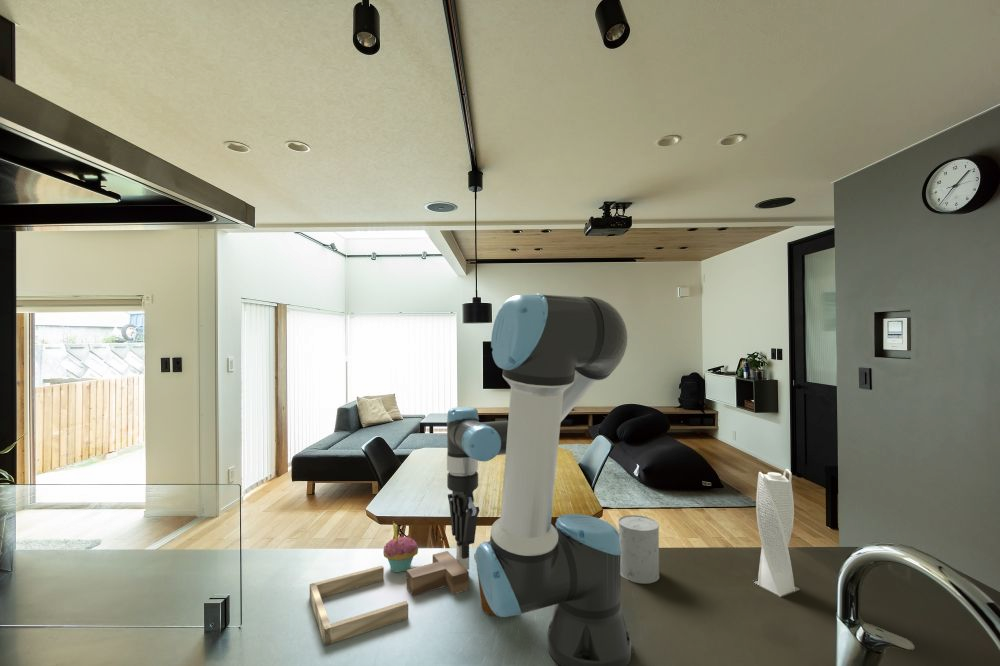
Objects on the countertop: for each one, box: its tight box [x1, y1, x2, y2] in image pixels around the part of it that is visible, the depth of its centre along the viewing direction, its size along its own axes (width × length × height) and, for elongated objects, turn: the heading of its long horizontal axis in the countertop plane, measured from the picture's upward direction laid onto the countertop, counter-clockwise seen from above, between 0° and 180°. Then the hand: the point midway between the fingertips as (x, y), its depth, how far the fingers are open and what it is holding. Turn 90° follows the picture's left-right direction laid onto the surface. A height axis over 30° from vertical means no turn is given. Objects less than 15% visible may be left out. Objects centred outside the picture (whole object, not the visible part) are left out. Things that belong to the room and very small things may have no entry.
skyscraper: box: [753, 468, 801, 598], centre depth 104 cm, size 8×8×28 cm
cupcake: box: [383, 520, 419, 573], centre depth 113 cm, size 9×8×12 cm
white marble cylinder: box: [618, 514, 660, 585], centre depth 110 cm, size 10×10×12 cm
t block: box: [406, 550, 470, 597], centre depth 105 cm, size 12×12×4 cm
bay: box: [309, 565, 409, 647], centre depth 96 cm, size 18×16×3 cm
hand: (462, 569), depth 109 cm, fingers closed
